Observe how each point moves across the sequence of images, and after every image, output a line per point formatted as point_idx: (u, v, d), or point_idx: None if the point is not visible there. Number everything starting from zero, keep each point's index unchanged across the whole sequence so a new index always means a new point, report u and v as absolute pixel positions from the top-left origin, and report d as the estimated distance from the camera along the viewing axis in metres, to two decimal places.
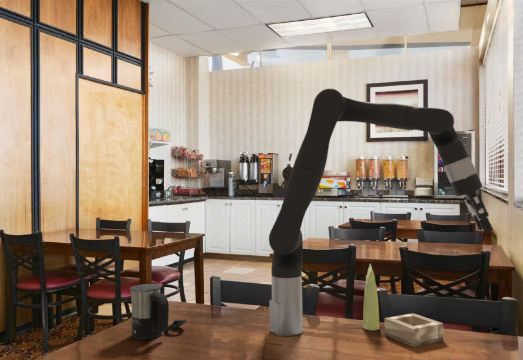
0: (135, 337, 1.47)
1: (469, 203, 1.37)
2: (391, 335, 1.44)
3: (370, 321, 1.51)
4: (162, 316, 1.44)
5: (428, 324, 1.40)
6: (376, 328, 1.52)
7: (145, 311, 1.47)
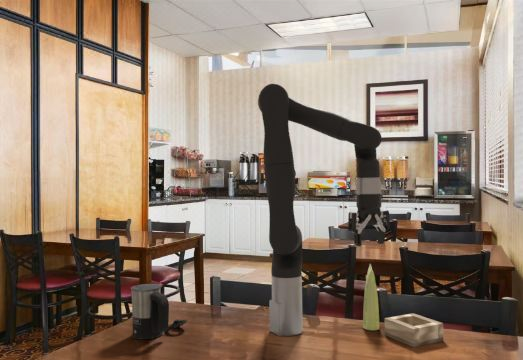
0: (135, 336, 1.48)
1: None
2: (391, 335, 1.44)
3: (370, 321, 1.51)
4: (162, 316, 1.45)
5: (428, 324, 1.40)
6: (376, 328, 1.52)
7: (145, 310, 1.47)
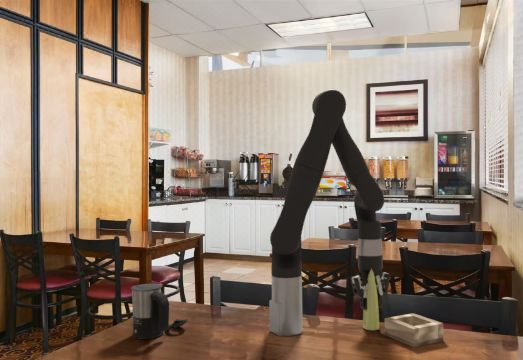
0: (136, 336, 1.48)
1: None
2: (391, 335, 1.44)
3: (370, 321, 1.51)
4: (163, 315, 1.45)
5: (428, 324, 1.40)
6: (376, 328, 1.52)
7: (146, 310, 1.47)
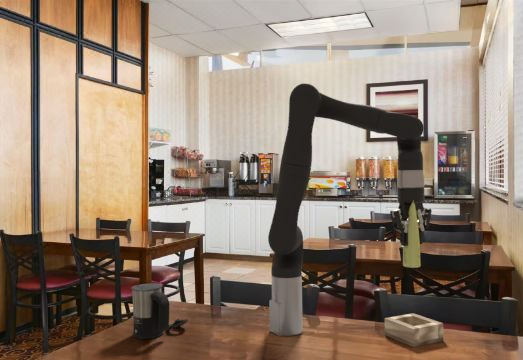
0: (136, 336, 1.48)
1: None
2: (391, 335, 1.44)
3: (411, 257, 1.42)
4: (163, 315, 1.45)
5: (428, 324, 1.40)
6: (418, 266, 1.42)
7: (146, 310, 1.47)
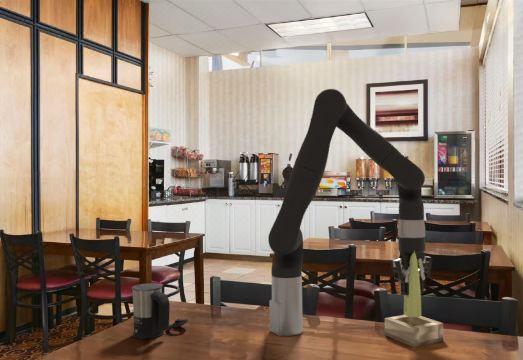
0: (136, 336, 1.48)
1: None
2: (391, 335, 1.44)
3: (412, 307, 1.42)
4: (163, 315, 1.45)
5: (428, 324, 1.40)
6: (418, 315, 1.42)
7: (146, 310, 1.48)
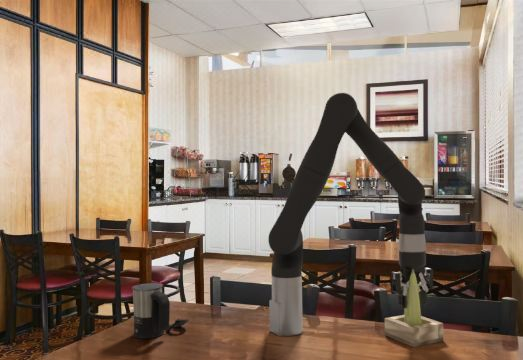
0: (137, 336, 1.48)
1: None
2: (391, 335, 1.44)
3: None
4: (163, 315, 1.45)
5: (428, 324, 1.40)
6: None
7: (147, 310, 1.48)
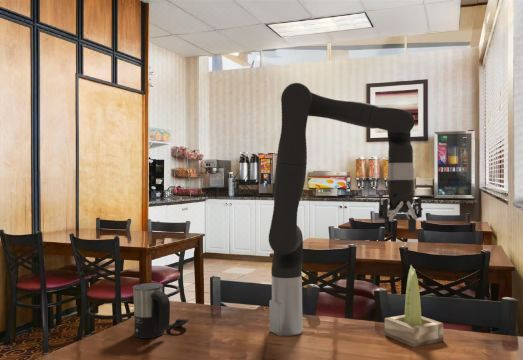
0: (137, 335, 1.49)
1: None
2: (391, 335, 1.44)
3: None
4: (163, 315, 1.45)
5: (428, 324, 1.40)
6: None
7: (147, 309, 1.48)
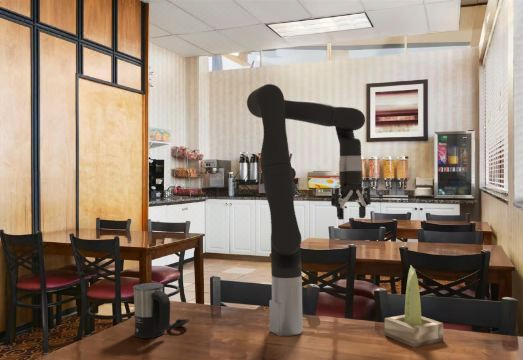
0: (137, 335, 1.49)
1: None
2: (391, 335, 1.44)
3: None
4: (164, 314, 1.46)
5: (428, 324, 1.40)
6: None
7: (147, 309, 1.48)
